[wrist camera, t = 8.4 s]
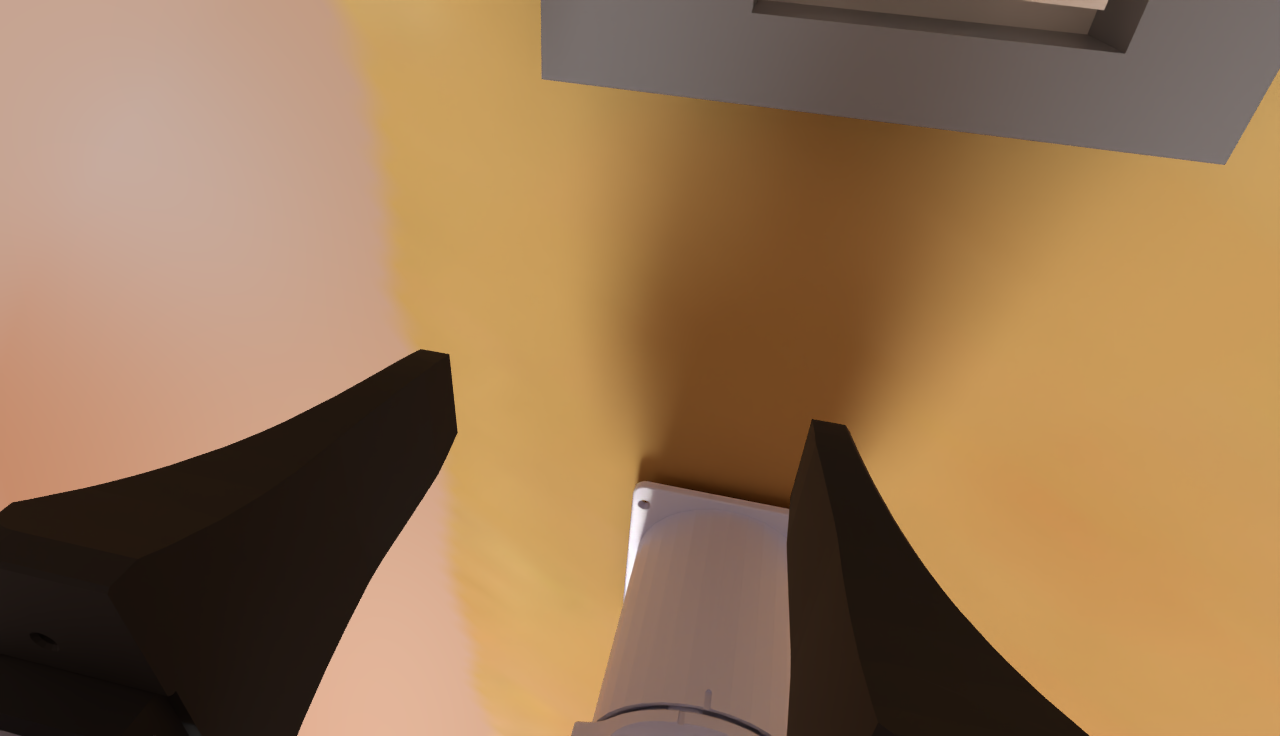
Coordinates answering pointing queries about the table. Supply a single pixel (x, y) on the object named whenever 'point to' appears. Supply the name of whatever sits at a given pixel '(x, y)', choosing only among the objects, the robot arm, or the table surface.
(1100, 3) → the plug
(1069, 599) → the table surface
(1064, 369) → the table surface
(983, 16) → the socket plate
